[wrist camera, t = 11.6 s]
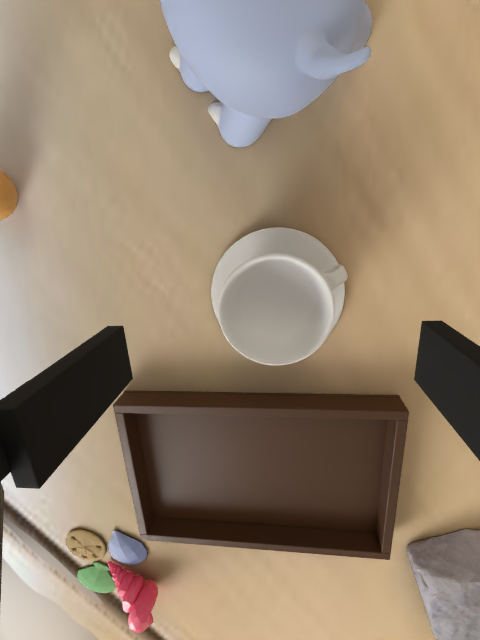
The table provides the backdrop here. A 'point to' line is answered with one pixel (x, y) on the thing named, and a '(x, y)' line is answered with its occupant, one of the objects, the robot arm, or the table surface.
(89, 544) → the toy pieces
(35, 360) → the table surface
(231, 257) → the teacup
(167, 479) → the tray
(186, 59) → the hippopotamus toy
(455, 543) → the stone block
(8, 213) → the figurine
